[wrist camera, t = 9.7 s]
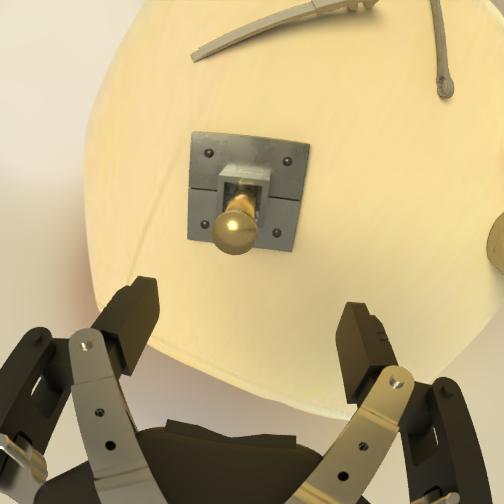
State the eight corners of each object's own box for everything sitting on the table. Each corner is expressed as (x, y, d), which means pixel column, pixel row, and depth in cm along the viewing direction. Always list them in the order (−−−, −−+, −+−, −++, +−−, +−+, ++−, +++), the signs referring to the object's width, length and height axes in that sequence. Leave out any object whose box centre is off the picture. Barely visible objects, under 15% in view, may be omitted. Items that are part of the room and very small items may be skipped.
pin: (263, 180, 29) (259, 215, 19) (259, 209, 30) (254, 257, 21) (232, 176, 29) (212, 210, 19) (229, 205, 30) (210, 252, 21)
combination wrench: (458, 99, 21) (438, -43, 11) (449, 96, 21) (429, -46, 11) (440, 98, 24) (425, -34, 14) (432, 96, 24) (416, -37, 14)
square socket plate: (308, 143, 28) (314, 147, 24) (291, 248, 33) (293, 265, 30) (194, 131, 28) (183, 134, 24) (189, 235, 33) (180, 251, 30)
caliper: (365, 1, 19) (384, -18, 14) (369, 9, 20) (389, -10, 14) (190, 55, 24) (172, 43, 18) (194, 63, 24) (176, 52, 19)
